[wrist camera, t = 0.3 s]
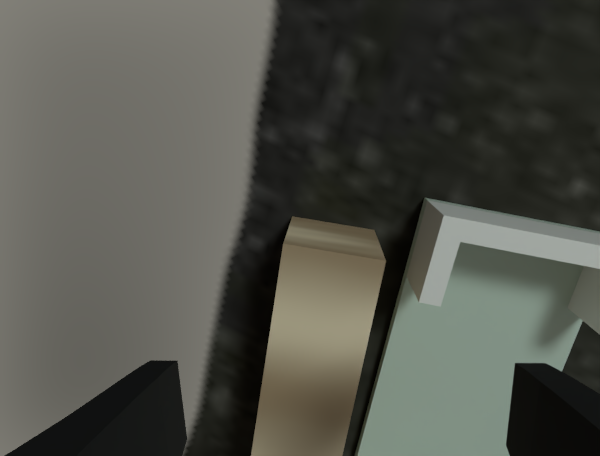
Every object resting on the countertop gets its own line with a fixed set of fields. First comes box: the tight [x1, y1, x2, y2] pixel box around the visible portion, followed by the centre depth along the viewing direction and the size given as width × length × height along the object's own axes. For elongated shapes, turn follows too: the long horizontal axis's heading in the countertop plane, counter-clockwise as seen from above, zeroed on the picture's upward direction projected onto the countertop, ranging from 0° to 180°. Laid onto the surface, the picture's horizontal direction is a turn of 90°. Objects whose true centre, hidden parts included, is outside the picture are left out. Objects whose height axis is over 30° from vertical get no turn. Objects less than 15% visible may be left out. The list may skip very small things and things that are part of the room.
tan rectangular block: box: [251, 217, 386, 456], centre depth 18 cm, size 12×4×4 cm, turn 171°
